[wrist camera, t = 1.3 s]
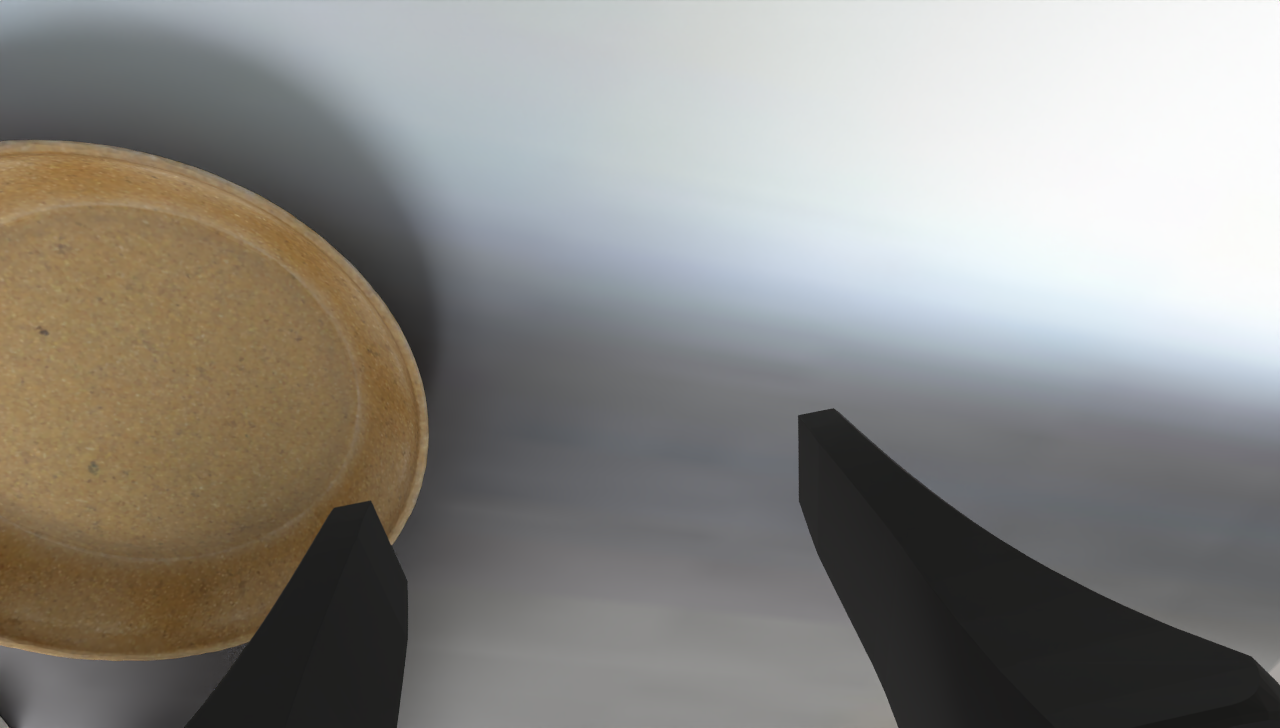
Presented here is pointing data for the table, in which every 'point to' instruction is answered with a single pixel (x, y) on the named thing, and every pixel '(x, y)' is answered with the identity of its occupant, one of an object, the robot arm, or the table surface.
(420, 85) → the table surface
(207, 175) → the plant saucer
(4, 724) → the centring cradle
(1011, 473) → the table surface
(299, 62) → the table surface
